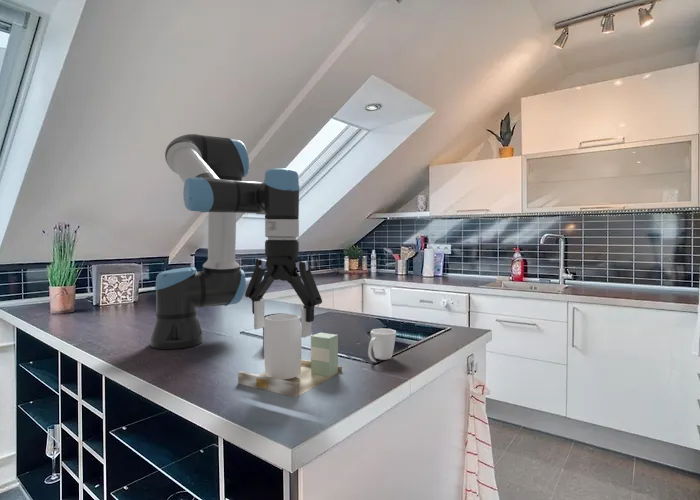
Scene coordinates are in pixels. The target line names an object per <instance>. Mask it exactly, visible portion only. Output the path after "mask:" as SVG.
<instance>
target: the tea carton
mask: <svg viewBox="0 0 700 500" xmlns="http://www.w3.org/2000/svg"><path fill="white" fill-rule="evenodd" d="M338 337H339V334H336V333H335V334H334V333H326V332H318V333H315V334H313V335H312V334H311V335H310V361H311V374H315V375H320V376H325V377H330V376H332V375H334V374H336V373H338V366H339V338H338Z"/></svg>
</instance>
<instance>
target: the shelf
mask: <svg viewBox="0 0 700 500" xmlns="http://www.w3.org/2000/svg"><path fill="white" fill-rule="evenodd" d="M340 373H343V367H342V366H340V365H338V373H336V374H334V375H332V376H330V377H325V376H320V375H315V374H311V360H309V359H307V360H306V359H304V358H303V359H302V358H301V373H300V375H298V376H296V377H294V378H290V379H282V380H281V379H276V378H272V377H267V376H266V373H265V371H264V372H262V373H259V374H258V373H253V372H249V371H243V370H240V371H238V372H237V376H238V377H237V381H238V382H237V383H238V385H242V386H248V387H252V388H256V389H259V390H263V391H268V392H271V393H277V394H279V395H285V396H289V397H293V398H299V397H301V395H303V394H305V393H307V392H309V391H310V390H312V389H314V388H315V387H318V386H319V385H321V384H323V383H324V382H326V381H328V380H330V379H333V377H335V376H337V375H339V374H340Z"/></svg>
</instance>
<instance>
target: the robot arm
mask: <svg viewBox="0 0 700 500" xmlns="http://www.w3.org/2000/svg"><path fill="white" fill-rule="evenodd" d="M164 156H165V157H164V158H165V161H166V164H167V165H168V168H169V169H170V170H171V171H172V172H173V173H175V174H177V175H178V176H179V178H180V179H181V181H182V182H183V183H184V184H183V196H182V197H183V202H184V206H185V208H186V209H187V211H190V212H200V213H208V221H207V223H208V226H207V232H208V233H207V234H208V235H207V237H208V238H207V260H206V261H205V262H204V263H203V264H202V271H201V270H200V271H197V269H196V267H195V266H191V267H190V266H188V267H180V268H173V269H167V270H165V271H162V272H159V273H158V274H157V275H156V277H155V286H154V290H155V293H156V294H155V297H156V299H155V300H156V302H155V305H156V307H155V308H156V309H155V311H156V315H155V316H156V321H155V323H154V327H153V330H152V334H151V337H150V347H151V348H152V349H157V350H177V349H184V348H189V347H190V348H191V347H193V346H194V347H195V346H197V345H200V344H202V343H203V341H204V334H203V331H202V328H201V325H200V323H199V320H198V316H197V315H198V312H197V311H198V309H199V308H208V307H209V308H211V307H218V306H219V307H223V306H225V307H227V306H230V305H236V304H238V303H240V302H241V300H242V299H243V297H244V296H245V298H249V299H250V300H251V306H252V308H251V309H252V310H251V311H252V312H251V313H252V314H253V330H255V331H256V330H260V329H263V327H264V316H265V300H264V295H265V294H266V293H267V291H269V288H271V286H272V284H273V283H274V281H283V282H286V281H287V283H289V284H290V285H291V287H292V288H293V290H294V291H295V293H296V295H297V296H298V298H299V300H300V301H301V303H302V305H303V306H302V307H300V308H301V309H300V311H301V314H300V315H301V317H300V324H301V338H303V339H305V338H306V337H309V336H310V337H311V336H312V322H314V320H315V306H318V305H320V304H321V305H322V303H323V299H322V296H321V294H320V291H319V288H318V287H317V285H316V281H315V279H314V275H313V273H312V271H311V263H310V261H309V260H305V261H300V262H299V260H298V256H299V254H300V249H299V248H300V241H299V240H298V239H297V238H299V237H300V221H299V220H300V219H299V218H300V217H299V216H300V215H299V214H300V213H299V212H300V207H299V206H300V189H301V188H300V183H299V182H300V181H299V174H298V172H297V171H296V170H294V169H290V168H269V169H266V171H265V173H264V179H263V181H264V182H260V181H249V180H248V181H247V180H243V178H245V177H247V176H248V173H249V169H250V159H249V153H248V150H247V148H246V145H245V144H244V143H243V142H242V141H241V140H239V139H233V138H229V137H220V136H211V135H203V134H198V133H190V134H189V133H188V134H184V135H181V136H178V137H176V138H174V139H173V140H171V141H170V142H169V144H168V145H167V146H166V148H165V151H164ZM237 214H255V215H264V237H266V238H267V239H266V240H265V241H264V254H265V257H266V258H256V259H255V265H254V270H253V272H252V276H251V278H250V280H249V283H248V286H247V285H246V284H247V279H246V274H245V272H244V270H243V269H241V267H240V263H238V262H237V260H236V245H237V244H236V243H237V241H236V240H237V236H236V235H237ZM266 269H267V270H266ZM298 272H299V273H298ZM246 287H247V288H246Z"/></svg>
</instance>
